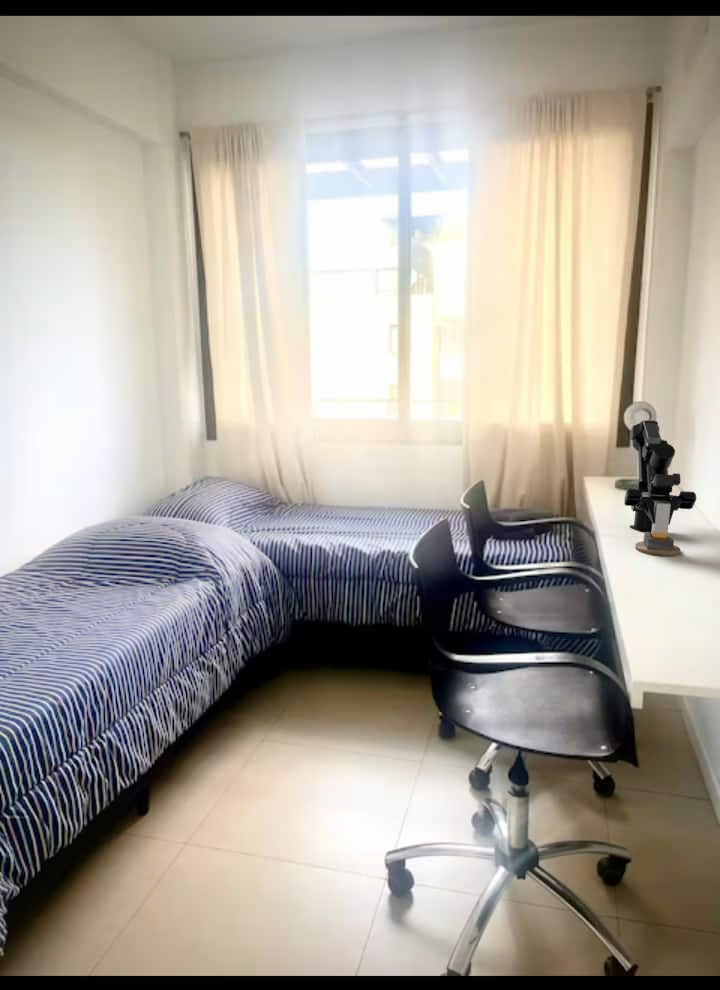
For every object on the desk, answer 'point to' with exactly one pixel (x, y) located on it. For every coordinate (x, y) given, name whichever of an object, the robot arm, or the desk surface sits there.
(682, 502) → the robot arm
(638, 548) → the stand base
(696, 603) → the desk surface
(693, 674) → the desk surface
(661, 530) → the post
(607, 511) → the desk surface
